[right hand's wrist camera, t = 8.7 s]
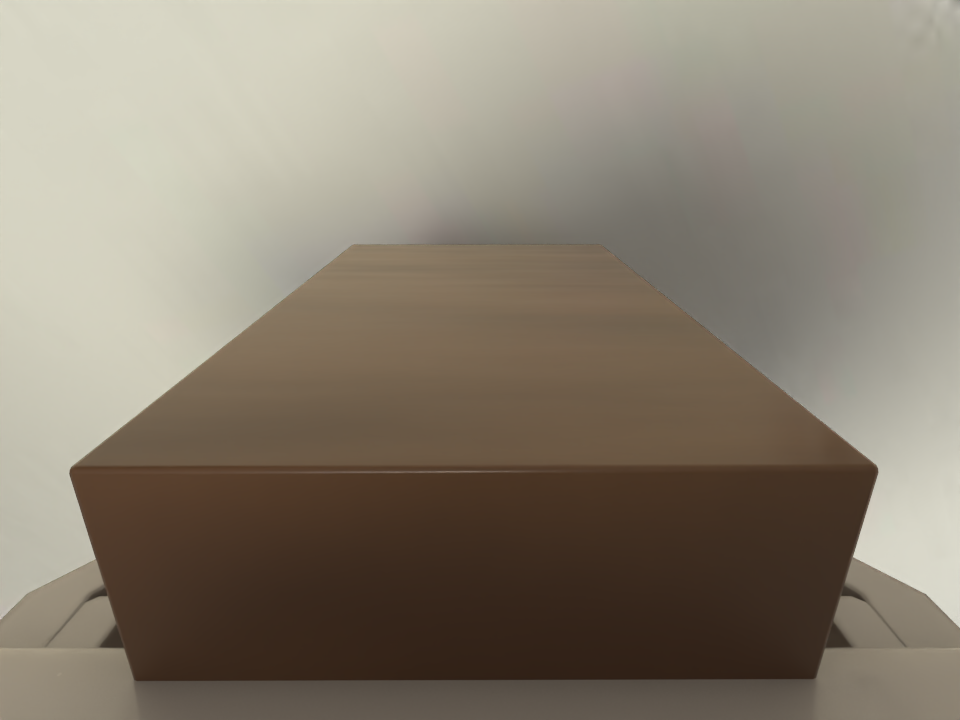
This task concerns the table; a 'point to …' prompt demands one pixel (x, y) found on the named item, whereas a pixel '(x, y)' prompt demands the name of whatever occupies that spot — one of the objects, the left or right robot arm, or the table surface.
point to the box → (474, 487)
